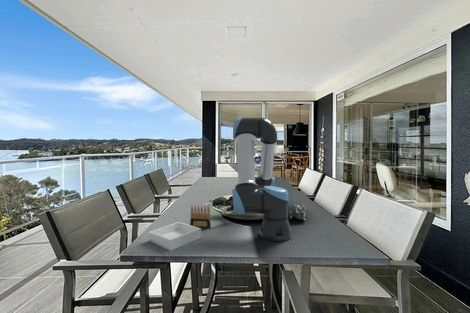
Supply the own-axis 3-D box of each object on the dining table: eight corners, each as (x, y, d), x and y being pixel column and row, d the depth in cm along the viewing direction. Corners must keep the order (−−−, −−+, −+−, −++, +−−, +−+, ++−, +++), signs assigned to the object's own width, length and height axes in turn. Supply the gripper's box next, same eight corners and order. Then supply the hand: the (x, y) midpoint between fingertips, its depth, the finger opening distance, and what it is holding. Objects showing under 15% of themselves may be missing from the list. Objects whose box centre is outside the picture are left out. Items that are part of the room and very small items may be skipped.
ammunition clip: (190, 228, 132) (189, 205, 132) (191, 226, 134) (190, 204, 133) (210, 229, 131) (209, 206, 130) (210, 227, 133) (210, 205, 132)
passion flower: (303, 229, 145) (310, 216, 138) (284, 226, 145) (291, 213, 137) (300, 213, 154) (307, 200, 146) (283, 210, 153) (289, 197, 146)
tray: (201, 237, 119) (200, 228, 119) (170, 250, 106) (170, 240, 105) (179, 230, 129) (179, 221, 129) (148, 241, 115) (148, 231, 115)
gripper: (253, 210, 149) (230, 220, 133) (221, 203, 165) (197, 211, 148) (253, 197, 149) (230, 206, 132) (221, 192, 164) (197, 198, 147)
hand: (213, 208), depth 140 cm, fingers open, 13 cm apart
